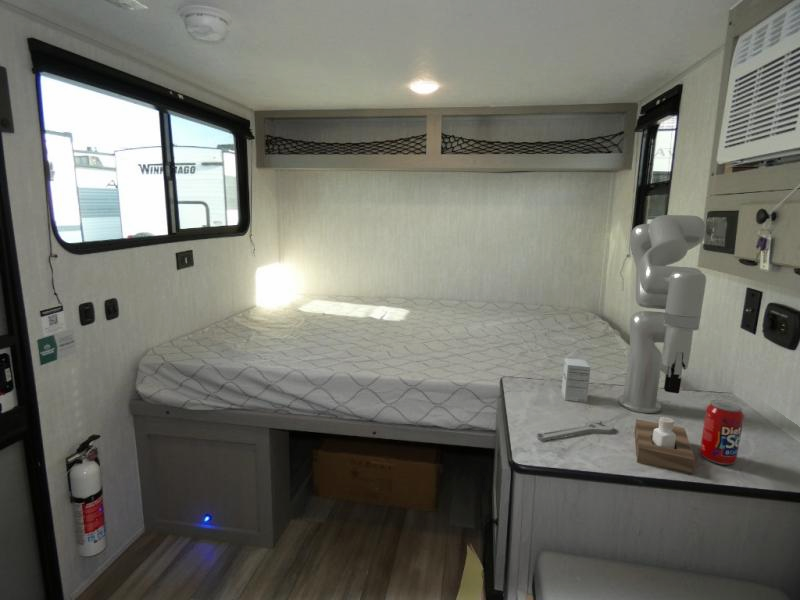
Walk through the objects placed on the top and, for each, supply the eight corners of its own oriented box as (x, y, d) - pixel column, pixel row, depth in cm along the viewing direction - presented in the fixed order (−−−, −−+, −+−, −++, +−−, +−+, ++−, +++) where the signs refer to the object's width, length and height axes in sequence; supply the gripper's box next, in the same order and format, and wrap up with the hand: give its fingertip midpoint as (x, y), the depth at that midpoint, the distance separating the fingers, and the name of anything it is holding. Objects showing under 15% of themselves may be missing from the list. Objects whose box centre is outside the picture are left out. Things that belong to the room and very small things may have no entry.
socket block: (634, 432, 132) (636, 419, 131) (682, 441, 127) (684, 428, 127) (637, 462, 116) (638, 447, 115) (692, 474, 111) (694, 459, 111)
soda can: (699, 448, 124) (708, 396, 121) (735, 457, 120) (744, 403, 117) (698, 460, 118) (707, 406, 115) (736, 470, 113) (746, 414, 110)
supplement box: (560, 392, 160) (564, 357, 158) (583, 394, 159) (586, 359, 156) (563, 400, 153) (567, 364, 151) (587, 402, 152) (591, 366, 149)
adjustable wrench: (539, 443, 126) (540, 437, 125) (527, 433, 132) (528, 427, 131) (616, 433, 132) (617, 427, 132) (601, 423, 138) (602, 418, 138)
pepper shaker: (649, 449, 121) (654, 416, 120) (664, 449, 122) (668, 416, 120) (659, 457, 118) (664, 423, 116) (674, 457, 118) (679, 423, 116)
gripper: (661, 313, 121) (652, 379, 124) (667, 325, 107) (656, 399, 111) (694, 316, 117) (684, 384, 121) (704, 329, 104) (693, 405, 108)
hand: (671, 391), depth 116 cm, fingers closed
